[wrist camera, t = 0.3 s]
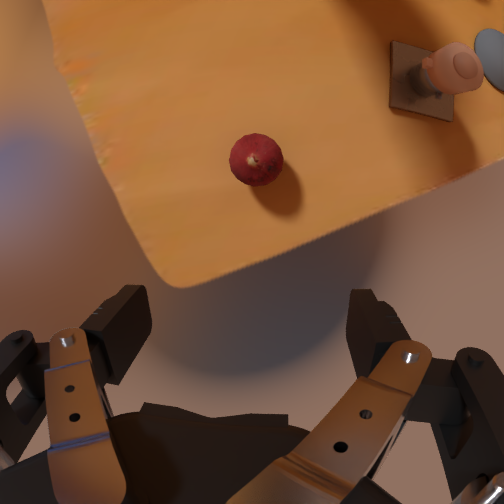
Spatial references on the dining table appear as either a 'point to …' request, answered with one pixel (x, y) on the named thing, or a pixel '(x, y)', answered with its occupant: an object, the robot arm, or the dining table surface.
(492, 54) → the coaster
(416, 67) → the cylinder on square base
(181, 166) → the dining table surface
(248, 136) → the onion
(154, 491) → the robot arm
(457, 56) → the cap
